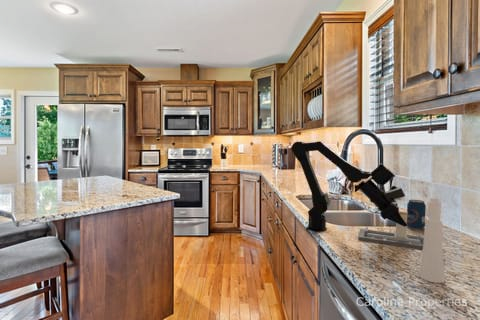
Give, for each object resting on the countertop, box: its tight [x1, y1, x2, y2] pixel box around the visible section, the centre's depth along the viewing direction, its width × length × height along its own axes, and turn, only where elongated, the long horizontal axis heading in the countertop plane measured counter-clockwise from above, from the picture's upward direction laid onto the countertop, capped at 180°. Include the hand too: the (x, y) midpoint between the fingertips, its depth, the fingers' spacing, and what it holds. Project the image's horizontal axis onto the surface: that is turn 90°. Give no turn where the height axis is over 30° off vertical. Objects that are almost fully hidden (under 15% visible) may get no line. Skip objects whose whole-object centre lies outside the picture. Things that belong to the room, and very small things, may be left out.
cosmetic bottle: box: [417, 196, 446, 284], centre depth 74 cm, size 6×6×22 cm
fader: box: [394, 209, 408, 239], centre depth 103 cm, size 4×4×10 cm
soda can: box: [406, 199, 427, 230], centre depth 121 cm, size 7×7×12 cm
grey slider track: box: [358, 227, 424, 250], centre depth 104 cm, size 24×12×3 cm, turn 63°
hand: (405, 224), depth 102 cm, fingers closed on fader, 3 cm apart
